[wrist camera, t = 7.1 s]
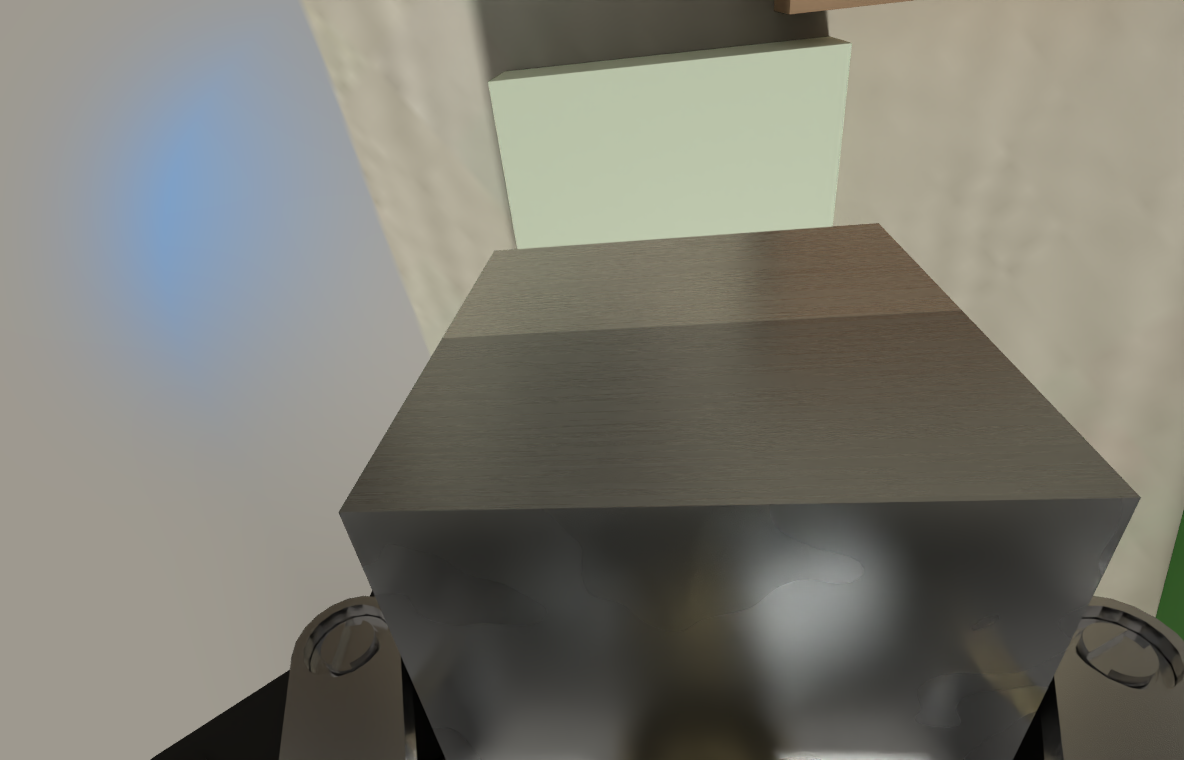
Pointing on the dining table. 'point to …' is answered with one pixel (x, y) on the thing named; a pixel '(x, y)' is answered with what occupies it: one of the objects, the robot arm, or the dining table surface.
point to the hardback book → (1174, 588)
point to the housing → (729, 510)
